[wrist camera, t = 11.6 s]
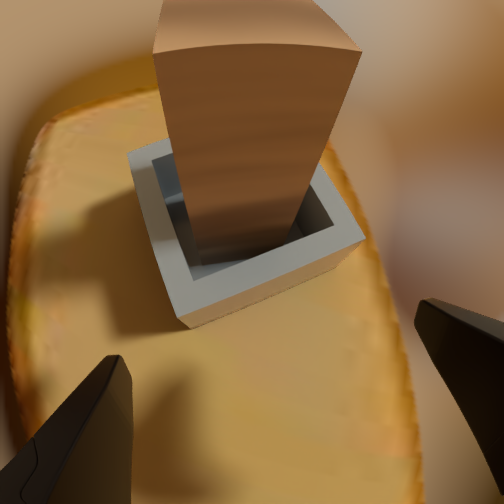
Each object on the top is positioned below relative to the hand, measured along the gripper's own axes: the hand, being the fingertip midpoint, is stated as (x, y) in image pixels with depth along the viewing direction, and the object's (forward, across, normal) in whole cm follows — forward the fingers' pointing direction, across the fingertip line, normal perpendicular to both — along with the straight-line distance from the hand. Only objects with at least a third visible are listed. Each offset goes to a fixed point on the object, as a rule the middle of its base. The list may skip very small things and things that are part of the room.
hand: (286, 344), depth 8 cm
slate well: (+11, 0, +1) cm, 11 cm away
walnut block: (+11, 0, 0) cm, 11 cm away
